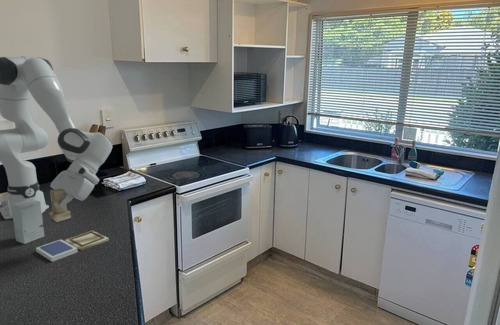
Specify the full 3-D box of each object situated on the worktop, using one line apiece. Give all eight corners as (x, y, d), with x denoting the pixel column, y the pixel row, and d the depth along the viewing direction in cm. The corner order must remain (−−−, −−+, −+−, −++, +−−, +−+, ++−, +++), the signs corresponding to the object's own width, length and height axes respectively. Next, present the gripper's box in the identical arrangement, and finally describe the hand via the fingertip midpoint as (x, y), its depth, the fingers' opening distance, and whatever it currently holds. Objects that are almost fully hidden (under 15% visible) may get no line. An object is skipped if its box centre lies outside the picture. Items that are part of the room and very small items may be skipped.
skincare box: (24, 244, 139) (18, 207, 136) (15, 241, 142) (9, 204, 139) (45, 236, 146) (41, 200, 143) (36, 233, 149) (31, 198, 146)
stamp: (50, 220, 133) (46, 190, 130) (64, 216, 137) (61, 187, 134) (57, 223, 130) (53, 193, 127) (71, 219, 134) (67, 190, 131)
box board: (65, 241, 142) (65, 238, 142) (92, 232, 150) (92, 229, 150) (81, 250, 135) (81, 247, 134) (109, 240, 143) (108, 237, 143)
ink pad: (36, 251, 134) (35, 247, 133) (61, 242, 141) (60, 238, 140) (52, 261, 127) (51, 257, 126) (77, 252, 134) (77, 247, 133)
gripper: (60, 163, 141) (36, 194, 135) (89, 172, 128) (63, 206, 123) (73, 172, 145) (50, 202, 140) (102, 181, 133) (78, 215, 127)
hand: (57, 204), depth 131 cm, fingers closed on stamp, 3 cm apart
